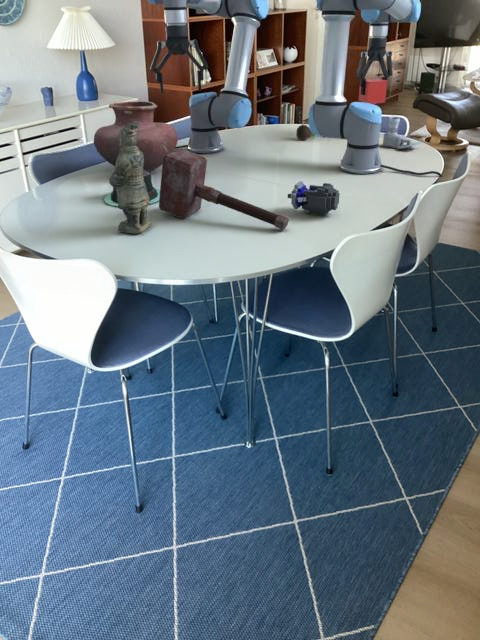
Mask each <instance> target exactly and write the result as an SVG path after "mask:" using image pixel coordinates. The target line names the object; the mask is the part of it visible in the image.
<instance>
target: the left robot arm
mask: <svg viewBox="0 0 480 640" xmlns="http://www.w3.org/2000/svg"><path fill="white" fill-rule="evenodd" d="M146 1H147V2H148V3H149V4H151V5H163V10H164V14H163V15H164V23H165V41H160V40H158V41H157V42H156V46H157V47H156V49H155V50H156V51H155V53H154V56H153V59H152V61H151V64H150V68H149V70H150V71H151V72H153V73H155V81H156V83H157V84H159V90H160V94H164V83H163V74H162V71H161V70H162V69H163V67H165V64H166V63H167V61H168V60H169V58H170V57H171V56H172V55H173V56H178V55H179V56H184V55H186V56H187V57H188V58H189V59H190V61H192V63H193V64H194V65H195V67H196V68H197V69H198V70H197V71H196V75H197V76H196V77H197V91H199V92H202V82H203V81H204V79H205V78H204V77H205V76H204V71H205V70H208V69H209V65H208V63H207V61H206V59H205V57H204V55H203V53H202V50H201V49H200V47H199V42H198V40H197V39H193V40H189V28H188V25H187V23H188V11H187V9H193V10H198V11H199V10H200V11H204V13H206V14H208V15H213V16H217V17H221V18H225V19H231V22H232V23H233V25H234V26H233V33H232V39H231V46H230V50H229V58H228V63H227V70H226V77H225V82H224V87H223V88H221V90H220V92H219V96H218V93H217V92H215V91H210V92H202V93H195V94H193V95H191V96H190V97H189V101H188V102H189V104H188V108H189V118H190V119H189V122H190V134H189V135H190V136H189V139H188V144H184V145H178V146H177V145H176V147H175V149H174V150H179V149H184V148H187V151H190V152H192V153H195V154H214V153H218V152H221V151H223V150H224V142H223V140H222V138H221V135H220V133H219V127H220V128H221V127H222V128H229V129H242V128H244V127H245V126H246V125H247V124H248V123H249V121H250V119H251V115H252V112H253V111H252V110H253V108H252V102H251V100H250V99H249V94H248V93H247V91H246V88H247V83H248V77H249V71H250V65H251V59H252V53H253V47H254V41H255V35H256V30H257V29H258V28H259V27H260V26H261V21H262V20H264V19H266V18H267V16H268V14H269V10H270V9H269V7H270V5H269V0H146ZM190 46H191V47H192V48H194V50H195V52H196V55H197V56H198V58H199V60H200V62H201V64H202V65H201V64H200V62H199V61H198V60H197V58H195V57H194V55H193V54H192V53H191V52H190V50H189V47H190ZM165 47H166V49H168V50H167V51H166V53H165V54H164V56H163V57H162V59H161V61H160V62H159V64H158V65H157V63H158V61H159V58H160V54H161V52H162V49H164V48H165Z"/></svg>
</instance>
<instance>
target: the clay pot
mask: <svg viewBox="0 0 480 640" xmlns="http://www.w3.org/2000/svg"><path fill="white" fill-rule="evenodd" d="M157 107H158V105H157V104H155V103H154V102H152V101H145V100H141V101H140V100H138V101H120V102H113V103H109V104H108V108H110V109H112V110H113V113H114V116H115V119H114V122H113V124H110V125H105V126H101V127H98V128H97V130H96V131H95V132H94V135H93V145H94V148H95V149H96V152H97V153H98V154H99V155H100V156H101V157H102V158H103V159H104V160H105V161H106V162H107V163H108V164H110V165H111V166H113V167H115V164H116V160H117V156H118V154H119V151H120V147H119V140H118V138H119V133H120V130H121V129H123V128H124V127H125V126H126V125H127V124H128V123H131V122H133V121H137V122H138V123H139V127H138V130H137V131H136V138H137V143H136V146H137V147H138V149H139V150H141V151H142V153H143V156H144V166H143V169H144V170H146V171H147V172H151V171H153V170H157V169H158V168H160V167H161V166H163V158H164V156H165V155H167V154H170V153H172V152H174V151H175V150H176V149H175V147H177V145H178V141H179V140H178V139H179V138H178V133H177V131H176V129H175V128H174V127H173V125H171V124H169V123H166V122H156V121H155V122H154V114H155V110H156V109H157Z"/></svg>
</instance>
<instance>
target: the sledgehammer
mask: <svg viewBox="0 0 480 640" xmlns="http://www.w3.org/2000/svg"><path fill="white" fill-rule="evenodd" d="M207 164H208V159H207V158H206V157H205V156H203V155H201V154H199V153H193V152H190V151H188V149H187V150H186V149H184V148H178V149H176V150H174V152H172V153H170V154H167V155H165V156H164V158H163V165H161V166H162V167H161V176H160V187H159V190H160V198H159V200H158V208H159V210H160V211H162V212H165V213H168V214H170V215H173V216H174V217H177V218H180V219H182V220H185V219H187V218H188V217H190V216H192V215H193V214H195V213H197V212H198V211H199V210H200V209H201V207H202V201H203V200H204V201H207V202H209V203H213V204H215V205H220V206H223V207H225V208H228V209H231V210H233V211H236V212H239V213H241V214H243V215H245V216H248V217H252V218H255V219H257V220H260V221H262V222H264V223H267V224H270V225H273V226H274V228H276V229H280V230H282V231H285V230H286V228H287V227H288V224H289V221H290V218H289V217H288V216H286V215H283V214H281V213H279V214H277V213H275V212H273V211H269V210H267V209H265V208H262V207H259V206H256V205H254V204H251V203H248V202H246V201H244V200H242V199H238V198H236V197H233V196H231V195H228V194H225V193H223V192H222V191H220V190H218V189H215V188H214V187H211V186H208V185H205V181H206V175H207Z"/></svg>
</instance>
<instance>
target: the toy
mask: <svg viewBox="0 0 480 640" xmlns="http://www.w3.org/2000/svg"><path fill="white" fill-rule="evenodd" d="M293 187H294V188H293V189H292V191H291V193H288V194H287V199H291V200H290V201H291V202H290V203H291V206H292V207H293V210H298V209H299V208H301V210H303V211H306V212H307V214H310V215H311V214H312V215H318V216H326V215H328V213H330V212H331V211H336V210H337V209H338V205H339V204H340V194H341V193H340V190H338V189H337V188H335V187H334V184H332V183H328V182H324V183H322V185H315V184H310V185H309V186H308V187H309V188H308V187H307V185H306V184H305V183H304V181H301V180H299V181H298V182H296V183H295V184H294V186H293Z"/></svg>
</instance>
